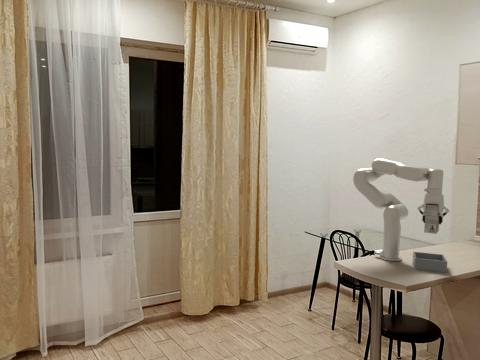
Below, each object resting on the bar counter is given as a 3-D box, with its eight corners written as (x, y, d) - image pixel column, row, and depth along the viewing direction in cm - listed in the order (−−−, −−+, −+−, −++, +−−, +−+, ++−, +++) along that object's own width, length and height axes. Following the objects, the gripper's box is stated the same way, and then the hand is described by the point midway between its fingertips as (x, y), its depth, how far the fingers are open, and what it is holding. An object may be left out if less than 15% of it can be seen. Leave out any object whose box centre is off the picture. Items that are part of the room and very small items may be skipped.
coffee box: (426, 229, 249) (428, 201, 248) (438, 231, 246) (441, 202, 244) (423, 232, 241) (426, 203, 240) (436, 234, 238) (438, 204, 236)
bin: (414, 269, 240) (415, 258, 240) (412, 261, 255) (413, 251, 255) (446, 272, 235) (447, 261, 235) (442, 265, 250) (443, 254, 250)
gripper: (417, 191, 241) (415, 223, 242) (452, 193, 235) (450, 226, 237) (416, 189, 248) (414, 220, 249) (450, 191, 242) (448, 223, 244)
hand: (432, 223), depth 243 cm, fingers closed on coffee box, 7 cm apart
